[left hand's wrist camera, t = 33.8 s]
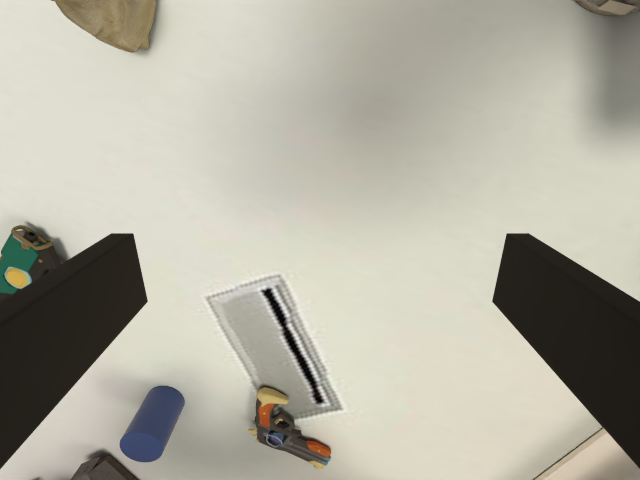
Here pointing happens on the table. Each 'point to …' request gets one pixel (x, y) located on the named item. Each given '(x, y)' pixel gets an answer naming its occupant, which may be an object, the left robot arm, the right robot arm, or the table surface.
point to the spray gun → (24, 260)
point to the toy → (102, 470)
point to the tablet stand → (594, 462)
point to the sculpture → (113, 20)
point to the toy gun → (284, 430)
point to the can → (152, 424)
